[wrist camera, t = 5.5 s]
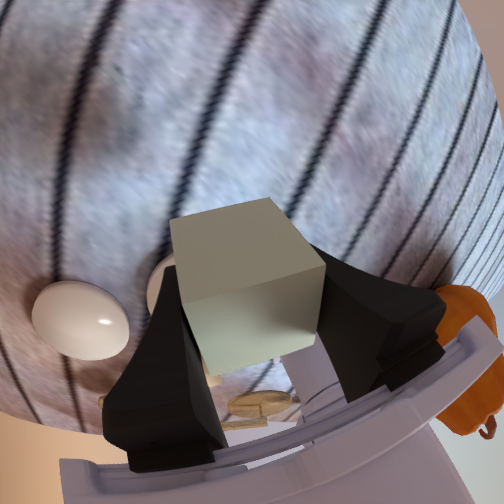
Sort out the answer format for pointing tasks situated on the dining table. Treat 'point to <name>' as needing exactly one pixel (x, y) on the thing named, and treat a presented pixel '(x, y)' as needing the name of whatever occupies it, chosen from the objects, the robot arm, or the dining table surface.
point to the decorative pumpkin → (489, 383)
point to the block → (247, 283)
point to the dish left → (80, 320)
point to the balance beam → (251, 408)
